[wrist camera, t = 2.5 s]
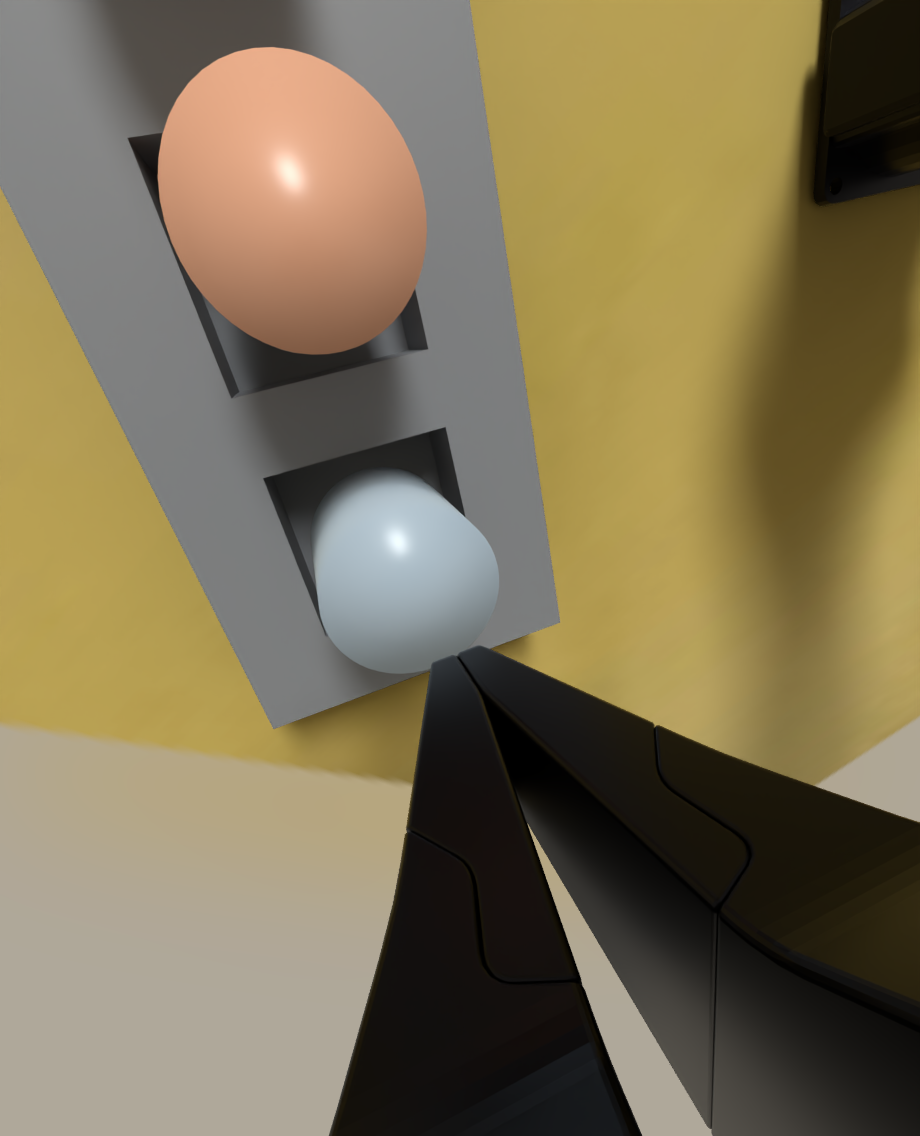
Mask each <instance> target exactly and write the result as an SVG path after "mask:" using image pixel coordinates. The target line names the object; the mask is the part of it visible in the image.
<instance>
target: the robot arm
mask: <svg viewBox="0 0 920 1136" xmlns="http://www.w3.org/2000/svg"><path fill="white" fill-rule="evenodd" d="M915 185H920V0H830V1H829V13H828V26H827V38H826V50H825V62H824V74H823V86H822V98H821V110H820V122H819V134H818V146H817V158H816V170H815V182H814V200H815V202H816V204H817V205H819V206H828V205H832V204H837V203H841V202H845V201H850V200H854V199H859V198H863V197H867V196H872V195H876V194H880V193H885V192H889V191H893V190H898V189H902V188H906V187H911V186H915ZM830 186H831V191H830ZM526 821H527V822H526ZM527 823H528V824H529V826H530V828H531V830H532V832H533V833H534V835H535V836H536V838H537V840H538V842H539V843H540V845H541V847H542V848H543V850H544V852H545V854H546V855H547V857H548V858H549V860H550V862H551V864H552V865H553V867H554V869H555V870H556V872H557V874H558V875H559V877H560V879H561V880H562V882H563V884H564V886H565V887H566V889H567V891H568V892H569V894H570V896H571V897H572V899H573V901H574V902H575V904H576V906H577V907H578V909H579V911H580V913H581V914H582V916H583V918H584V919H585V921H586V923H587V924H588V926H589V928H590V929H591V931H592V933H593V934H594V936H595V938H596V939H597V941H598V943H599V945H600V946H601V948H602V949H603V951H604V953H605V954H606V956H607V958H608V960H609V961H610V963H611V965H612V967H613V968H614V970H615V972H616V973H617V975H618V977H619V978H620V980H621V982H622V983H623V985H624V987H625V988H626V990H627V992H628V993H629V995H630V997H631V999H632V1000H633V1002H634V1003H635V1005H636V1007H637V1009H638V1010H639V1012H640V1014H641V1015H642V1017H643V1019H644V1020H645V1022H646V1024H647V1025H648V1027H649V1029H650V1031H651V1032H652V1034H653V1036H654V1037H655V1039H656V1041H657V1042H658V1044H659V1046H660V1047H661V1049H662V1051H663V1053H664V1054H665V1056H666V1058H667V1059H668V1061H669V1063H670V1064H671V1066H672V1068H673V1069H674V1071H675V1073H676V1074H677V1076H678V1078H679V1080H680V1081H681V1083H682V1085H683V1086H684V1088H685V1090H686V1091H687V1093H688V1094H689V1096H690V1098H691V1100H692V1101H693V1103H694V1105H695V1107H696V1108H697V1110H698V1112H699V1113H700V1115H701V1117H702V1118H703V1120H704V1122H705V1123H706V1125H707V1126H708V1128H710V1129H712V1135H713V1136H920V822H917V821H914V820H911V819H908V818H905V817H901V816H898V815H895V814H893V813H890V812H887V811H884V810H881V809H878V808H875V807H873V806H870V805H867V804H864V803H861V802H858V801H855V800H852V799H850V798H847V797H844V796H841V795H838V794H836V793H832V792H830V791H827V790H824V789H821V788H818V787H816V786H813V785H810V784H807V783H804V782H801V781H798V780H796V779H793V778H790V777H787V776H784V775H781V774H778V773H776V772H773V771H770V770H767V769H765V768H762V767H759V766H757V765H754V764H751V763H749V762H746V761H743V760H741V759H738V758H735V757H732V756H730V755H727V754H724V753H722V752H720V751H717V750H715V749H713V748H710V747H708V746H705V745H703V744H701V743H698V742H696V741H694V740H691V739H689V738H686V737H684V736H682V735H680V734H677V733H675V732H673V731H671V730H669V729H666V728H664V727H662V726H660V725H657V726H655V727H654V724H653V723H652V722H650V721H648V720H646V719H644V718H641V717H639V716H637V715H635V714H633V713H630V712H628V711H626V710H624V709H621V708H619V707H617V706H615V705H613V704H610V703H608V702H606V701H604V700H602V699H599V698H597V697H595V696H593V695H590V694H588V693H586V692H584V691H582V690H579V689H577V688H575V687H573V686H570V685H568V684H566V683H564V682H562V681H559V680H557V679H555V678H553V677H551V676H548V675H546V674H544V673H542V672H539V671H537V670H535V669H533V668H531V667H528V666H526V665H524V664H522V663H519V662H517V661H515V660H513V659H511V658H508V657H506V656H504V655H502V654H500V653H497V652H495V651H493V650H491V649H488V648H486V647H484V646H481V645H477V646H474V647H472V648H469V649H466V650H464V651H461V652H459V653H458V655H457V656H456V655H450V656H447V657H445V658H442V659H439V660H436V661H434V662H433V663H432V664H431V669H430V675H429V682H428V689H427V695H426V702H425V708H424V715H423V721H422V728H421V735H420V741H419V748H418V754H417V761H416V767H415V774H414V781H413V787H412V794H411V801H410V808H409V813H408V820H407V827H406V830H407V833H406V834H405V838H404V845H403V851H402V857H401V863H400V869H399V874H398V879H397V885H396V890H395V895H394V901H393V906H392V910H391V913H390V917H389V922H388V926H387V930H386V933H385V937H384V942H383V946H382V949H381V953H380V957H379V961H378V964H377V969H376V971H375V975H374V979H373V982H372V986H371V989H370V993H369V996H368V1000H367V1004H366V1007H365V1011H364V1014H363V1018H362V1021H361V1025H360V1028H359V1032H358V1036H357V1039H356V1043H355V1046H354V1050H353V1053H352V1057H351V1061H350V1064H349V1068H348V1071H347V1075H346V1079H345V1082H344V1086H343V1089H342V1093H341V1096H340V1100H339V1103H338V1107H337V1111H336V1114H335V1117H334V1120H333V1124H332V1127H331V1130H330V1134H329V1136H642V1134H641V1132H640V1129H639V1127H638V1125H637V1122H636V1120H635V1118H634V1115H633V1113H632V1110H631V1108H630V1106H629V1103H628V1101H627V1099H626V1096H625V1094H624V1092H623V1089H622V1087H621V1084H620V1082H619V1080H618V1077H617V1075H616V1072H615V1070H614V1067H613V1065H612V1063H611V1060H610V1057H609V1055H608V1052H607V1049H606V1047H605V1044H604V1042H603V1039H602V1036H601V1034H600V1031H599V1028H598V1026H597V1023H596V1020H595V1017H594V1014H593V1012H592V1009H591V1006H590V1003H589V1000H588V998H587V995H586V992H585V990H584V988H583V986H582V982H581V977H580V975H579V972H578V969H577V966H576V963H575V960H574V957H573V954H572V952H571V949H570V946H569V943H568V940H567V937H566V934H565V931H564V928H563V925H562V923H561V920H560V917H559V914H558V911H557V908H556V905H555V902H554V900H553V897H552V894H551V891H550V888H549V885H548V882H547V880H546V876H545V874H544V871H543V868H542V865H541V862H540V859H539V856H538V853H537V850H536V848H535V845H534V842H533V839H532V836H531V834H530V830H529V828H528V824H527Z"/></svg>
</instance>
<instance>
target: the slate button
mask: <svg viewBox="0 0 920 1136" xmlns="http://www.w3.org/2000/svg"><path fill="white" fill-rule="evenodd" d="M311 547H312V555H313V563H314V571H315V579H316V587H317V595H318V604H319V610H320V616H321V619H322V623H323V626H324V628H325V630H326V632H327V634H328V636H329V637H330V639H331V640H332V642H333V643H334V645H335V646H336V647H337V648H338V649H339V650H340V651H341V652H342V653H343V654H344V655H346V656H347V657H348V658H349V659H351V660H353V661H354V662H356V663H358V664H359V665H362V666H364V667H366V668H369V669H372V670H376V671H379V672H385V673H395V674H405V673H415V672H420V671H424V670H428V669H431V664H432V663H433V662H434V661H436V660H439V659H442V658H445V657H447V656H450V655H456V656H457V655H458V653H459V652H461V651H464V650H465V649H466V648H467V647H469V646H470V645H471V644H472V643H473V642H474V641H475V640H476V638H477V637H478V636H479V635H480V634H481V632H482V631H483V629H484V628H485V627H486V625H487V623H488V621H489V619H490V618H491V615H492V613H493V611H494V608H495V605H496V601H497V598H498V591H499V572H498V565H497V562H496V558H495V555H494V553H493V550H492V548H491V546H490V545H489V543H488V541H487V540H486V538H485V537H484V536H483V535H482V533H481V532H480V531H479V530H478V529H477V528H476V527H475V526H474V525H473V524H472V523H471V522H470V521H468V520H467V519H466V518H465V517H464V516H463V515H462V514H461V513H460V512H459V511H458V510H457V509H456V508H455V507H453V506H452V505H451V504H450V503H449V502H448V501H447V500H446V499H445V498H444V497H443V496H442V495H441V494H439V493H438V492H437V491H436V490H435V489H434V488H433V487H432V486H431V485H430V484H429V483H427V482H426V481H425V480H423V479H422V478H420V477H419V476H417V475H415V474H413V473H411V472H409V471H405V470H402V469H398V468H392V467H375V468H369V469H364V470H361V471H358V472H355V473H353V474H351V475H349V476H347V477H345V478H344V479H342V480H341V481H339V482H338V483H337V484H335V485H334V486H333V487H332V488H331V489H330V490H329V491H328V492H327V494H326V495H325V496H324V497H323V499H322V500H321V502H320V504H319V505H318V507H317V510H316V512H315V514H314V518H313V521H312V527H311Z"/></svg>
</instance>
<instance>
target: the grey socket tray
mask: <svg viewBox="0 0 920 1136" xmlns="http://www.w3.org/2000/svg"><path fill="white" fill-rule="evenodd" d="M264 47H276V48H284V49H291V50H295V51H299V52H302V53H306V54H309V55H312V56H314V57H317V58H319V59H321V60H323V61H326V62H328V63H330V64H332V65H333V66H335V67H336V68H338V69H340V70H341V71H343V72H344V73H346V74H348V75H349V76H350V77H351V78H353V79H354V80H355V81H356V82H357V83H359V84H360V85H361V86H362V87H364V88H365V89H366V90H367V91H368V92H369V93H370V94H371V95H372V97H373V98H374V99H375V100H376V101H377V102H378V103H379V104H380V105H381V106H382V108H383V109H384V110H385V112H386V113H387V114H388V115H389V117H390V118H391V119H392V121H393V122H394V124H395V126H396V127H397V129H398V131H399V132H400V134H401V135H402V137H403V139H404V141H405V143H406V145H407V147H408V149H409V151H410V153H411V155H412V158H413V161H414V164H415V166H416V169H417V172H418V174H419V178H420V182H421V186H422V190H423V194H424V201H425V208H426V221H427V237H426V250H425V256H424V261H423V266H422V270H421V273H420V276H419V279H418V283H417V285H416V287H415V289H414V291H413V294H412V296H411V298H410V299H409V301H408V303H407V304H406V306H405V308H404V309H403V311H402V312H401V313H400V314H399V316H398V317H397V318H396V319H395V320H394V322H393V323H392V324H390V325H389V326H388V327H387V328H386V329H385V330H384V331H383V332H382V333H380V334H379V335H377V336H376V337H374V338H373V339H371V340H370V341H368V342H366V343H364V344H362V345H360V346H358V347H355V348H352V349H349V350H346V351H343V352H337V353H331V354H302V353H293V352H289V351H285V350H281V349H279V348H276V347H274V346H271V345H269V344H266V343H264V342H262V341H260V340H258V339H256V338H254V337H252V336H250V335H248V334H247V333H245V332H244V331H242V330H241V329H239V328H238V327H237V326H235V325H234V324H232V323H231V322H230V321H229V320H228V319H226V318H225V317H224V316H223V315H222V314H221V313H219V312H218V311H217V310H216V309H215V308H214V307H213V305H212V304H211V303H210V302H209V301H208V300H207V299H206V298H205V297H204V296H203V294H202V293H201V292H200V290H199V289H198V288H197V286H196V285H195V284H194V282H193V281H192V280H191V278H190V277H189V275H188V273H187V272H186V270H185V268H184V267H183V265H182V263H181V262H180V259H179V257H178V255H177V253H176V251H175V249H174V246H173V244H172V242H171V239H170V236H169V233H168V230H167V227H166V224H165V221H164V217H163V212H162V207H161V203H160V196H159V185H158V158H159V151H160V145H161V139H162V134H163V131H164V128H165V125H166V122H167V119H168V116H169V114H170V112H171V110H172V108H173V106H174V104H175V102H176V100H177V98H178V97H179V95H180V94H181V93H182V91H183V90H184V88H185V87H186V86H187V84H188V83H189V82H190V81H191V80H192V79H193V78H194V77H195V76H196V75H197V74H198V73H199V72H200V71H201V70H202V69H204V68H206V67H207V66H209V65H210V64H212V63H213V62H215V61H216V60H218V59H220V58H222V57H225V56H227V55H229V54H232V53H234V52H237V51H242V50H247V49H251V48H264ZM0 187H1V189H2V191H3V193H4V195H5V197H6V199H7V201H8V203H9V205H10V207H11V209H12V211H13V213H14V215H15V217H16V219H17V221H18V223H19V225H20V227H21V229H22V231H23V233H24V235H25V237H26V239H27V241H28V243H29V245H30V247H31V249H32V251H33V252H34V254H35V256H36V258H37V260H38V262H39V264H40V266H41V268H42V270H43V272H44V274H45V276H46V278H47V280H48V282H49V284H50V286H51V288H52V290H53V292H54V294H55V296H56V298H57V300H58V302H59V304H60V306H61V308H62V310H63V312H64V314H65V316H66V318H67V320H68V322H69V324H70V326H71V328H72V330H73V332H74V334H75V336H76V338H77V340H78V342H79V344H80V346H81V348H82V350H83V352H84V354H85V356H86V358H87V360H88V362H89V364H90V366H91V368H92V370H93V372H94V374H95V376H96V378H97V380H98V382H99V384H100V386H101V387H102V389H103V391H104V393H105V395H106V397H107V399H108V401H109V403H110V405H111V407H112V409H113V411H114V413H115V415H116V417H117V419H118V421H119V423H120V425H121V427H122V429H123V431H124V433H125V435H126V437H127V439H128V441H129V443H130V445H131V447H132V449H133V451H134V453H135V455H136V457H137V459H138V461H139V463H140V465H141V467H142V469H143V471H144V473H145V475H146V477H147V479H148V481H149V483H150V485H151V487H152V489H153V491H154V493H155V495H156V497H157V499H158V501H159V503H160V505H161V507H162V509H163V511H164V513H165V515H166V517H167V519H168V520H169V522H170V524H171V526H172V528H173V530H174V532H175V534H176V536H177V538H178V540H179V542H180V544H181V546H182V548H183V550H184V552H185V554H186V556H187V558H188V560H189V562H190V564H191V566H192V568H193V570H194V572H195V574H196V576H197V578H198V580H199V582H200V584H201V586H202V588H203V590H204V592H205V594H206V596H207V598H208V600H209V602H210V604H211V606H212V608H213V610H214V612H215V614H216V616H217V618H218V620H219V622H220V624H221V626H222V628H223V630H224V632H225V634H226V636H227V638H228V640H229V642H230V644H231V646H232V648H233V650H234V652H235V654H236V655H237V657H238V659H239V661H240V663H241V665H242V667H243V669H244V671H245V673H246V675H247V677H248V679H249V681H250V683H251V685H252V687H253V689H254V691H255V693H256V695H257V697H258V699H259V701H260V703H261V705H262V707H263V709H264V711H265V713H266V715H267V717H268V719H269V721H270V723H271V725H272V727H273V729H275V728H278V727H280V726H283V725H286V724H289V723H291V722H294V721H297V720H299V719H302V718H305V717H307V716H310V715H313V714H315V713H318V712H321V711H323V710H326V709H329V708H332V707H334V706H337V705H340V704H342V703H345V702H348V701H350V700H353V699H356V698H358V697H361V696H364V695H366V694H369V693H372V692H374V691H377V690H380V689H383V688H385V687H388V686H391V685H393V684H396V683H399V682H401V681H404V680H407V679H409V678H412V677H415V676H417V675H420V674H423V673H426V672H428V671H430V669H428V670H424V671H420V672H415V673H405V674H395V673H385V672H379V671H376V670H372V669H369V668H366V667H364V666H362V665H359V664H358V663H356V662H354V661H353V660H351V659H349V658H348V657H347V656H346V655H344V654H343V653H342V652H341V651H340V650H339V649H338V648H337V647H336V646H335V645H334V643H333V642H332V640H331V639H330V637H329V636H328V634H327V632H326V630H325V628H324V626H323V623H322V619H321V616H320V610H319V604H318V595H317V587H316V579H315V571H314V563H313V555H312V547H311V527H312V521H313V518H314V514H315V512H316V510H317V507H318V505H319V504H320V502H321V500H322V499H323V497H324V496H325V495H326V494H327V492H328V491H329V490H330V489H331V488H332V487H333V486H334V485H335V484H337V483H338V482H339V481H341V480H342V479H344V478H345V477H347V476H349V475H351V474H353V473H355V472H358V471H361V470H364V469H369V468H375V467H392V468H398V469H402V470H405V471H409V472H411V473H413V474H415V475H417V476H419V477H420V478H422V479H423V480H425V481H426V482H427V483H429V484H430V485H431V486H432V487H433V488H434V489H435V490H436V491H437V492H438V493H439V494H441V495H442V496H443V497H444V498H445V499H446V500H447V501H448V502H449V503H450V504H451V505H452V506H453V507H455V508H456V509H457V510H458V511H459V512H460V513H461V514H462V515H463V516H464V517H465V518H466V519H467V520H468V521H470V522H471V523H472V524H473V525H474V526H475V527H476V528H477V529H478V530H479V531H480V532H481V533H482V535H483V536H484V537H485V538H486V540H487V541H488V543H489V545H490V546H491V548H492V550H493V553H494V555H495V558H496V562H497V565H498V572H499V591H498V598H497V601H496V605H495V608H494V611H493V613H492V615H491V618H490V619H489V621H488V623H487V625H486V627H485V628H484V629H483V631H482V632H481V634H480V635H479V636H478V637H477V638H476V640H475V641H474V642H473V643H472V644H471V645H470V646H469V647H467V648H466V649H469V648H472V647H474V646H477V645H481V646H484V647H486V648H488V649H490V648H493V647H495V646H498V645H501V644H503V643H506V642H509V641H512V640H514V639H517V638H520V637H522V636H525V635H528V634H530V633H533V632H536V631H538V630H541V629H544V628H546V627H549V626H552V625H555V624H557V623H560V617H559V610H558V604H557V597H556V590H555V583H554V576H553V569H552V563H551V556H550V549H549V542H548V535H547V528H546V521H545V515H544V508H543V501H542V494H541V487H540V480H539V473H538V467H537V460H536V453H535V446H534V439H533V432H532V425H531V419H530V412H529V405H528V398H527V391H526V384H525V377H524V371H523V364H522V357H521V350H520V343H519V336H518V330H517V323H516V316H515V309H514V302H513V295H512V288H511V282H510V275H509V268H508V261H507V254H506V247H505V240H504V234H503V227H502V220H501V213H500V206H499V199H498V192H497V186H496V179H495V172H494V165H493V158H492V151H491V145H490V138H489V131H488V124H487V117H486V110H485V103H484V97H483V90H482V83H481V76H480V69H479V62H478V55H477V49H476V42H475V35H474V28H473V21H472V14H471V7H470V1H469V0H0ZM466 649H465V650H466Z"/></svg>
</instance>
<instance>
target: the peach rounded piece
mask: <svg viewBox="0 0 920 1136" xmlns="http://www.w3.org/2000/svg"><path fill="white" fill-rule="evenodd" d="M158 185H159V196H160V203H161V207H162V212H163V217H164V221H165V224H166V227H167V230H168V233H169V236H170V239H171V242H172V244H173V246H174V249H175V251H176V253H177V255H178V257H179V259H180V262H181V263H182V265H183V267H184V268H185V270H186V272H187V273H188V275H189V277H190V278H191V280H192V281H193V282H194V284H195V285H196V286H197V288H198V289H199V290H200V292H201V293H202V294H203V296H204V297H205V298H206V299H207V300H208V301H209V302H210V303H211V304H212V305H213V307H214V308H215V309H216V310H217V311H218V312H219V313H221V314H222V315H223V316H224V317H225V318H226V319H228V320H229V321H230V322H231V323H232V324H234V325H235V326H237V327H238V328H239V329H241V330H242V331H244V332H245V333H247V334H248V335H250V336H252V337H254V338H256V339H258V340H260V341H262V342H264V343H266V344H269V345H271V346H274V347H276V348H279V349H281V350H285V351H289V352H293V353H302V354H331V353H337V352H343V351H346V350H349V349H352V348H355V347H358V346H360V345H362V344H364V343H366V342H368V341H370V340H371V339H373V338H374V337H376V336H377V335H379V334H380V333H382V332H383V331H384V330H385V329H386V328H387V327H388V326H389V325H390V324H392V323H393V322H394V320H395V319H396V318H397V317H398V316H399V314H400V313H401V312H402V311H403V309H404V308H405V306H406V304H407V303H408V301H409V299H410V298H411V296H412V294H413V291H414V289H415V287H416V285H417V283H418V279H419V276H420V273H421V270H422V266H423V261H424V256H425V250H426V237H427V221H426V208H425V201H424V194H423V190H422V186H421V182H420V178H419V174H418V172H417V169H416V166H415V164H414V161H413V158H412V155H411V153H410V151H409V149H408V147H407V145H406V143H405V141H404V139H403V137H402V135H401V134H400V132H399V131H398V129H397V127H396V126H395V124H394V122H393V121H392V119H391V118H390V117H389V115H388V114H387V113H386V112H385V110H384V109H383V108H382V106H381V105H380V104H379V103H378V102H377V101H376V100H375V99H374V98H373V97H372V95H371V94H370V93H369V92H368V91H367V90H366V89H365V88H364V87H362V86H361V85H360V84H359V83H357V82H356V81H355V80H354V79H353V78H351V77H350V76H349V75H348V74H346V73H344V72H343V71H341V70H340V69H338V68H336V67H335V66H333V65H332V64H330V63H328V62H326V61H323V60H321V59H319V58H317V57H314V56H312V55H309V54H306V53H302V52H299V51H295V50H291V49H284V48H276V47H264V48H251V49H247V50H242V51H237V52H234V53H232V54H229V55H227V56H225V57H222V58H220V59H218V60H216V61H215V62H213V63H212V64H210V65H209V66H207V67H206V68H204V69H202V70H201V71H200V72H199V73H198V74H197V75H196V76H195V77H194V78H193V79H192V80H191V81H190V82H189V83H188V84H187V86H186V87H185V88H184V90H183V91H182V93H181V94H180V95H179V97H178V98H177V100H176V102H175V104H174V106H173V108H172V110H171V112H170V114H169V116H168V119H167V122H166V125H165V128H164V131H163V134H162V139H161V145H160V151H159V158H158Z"/></svg>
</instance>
